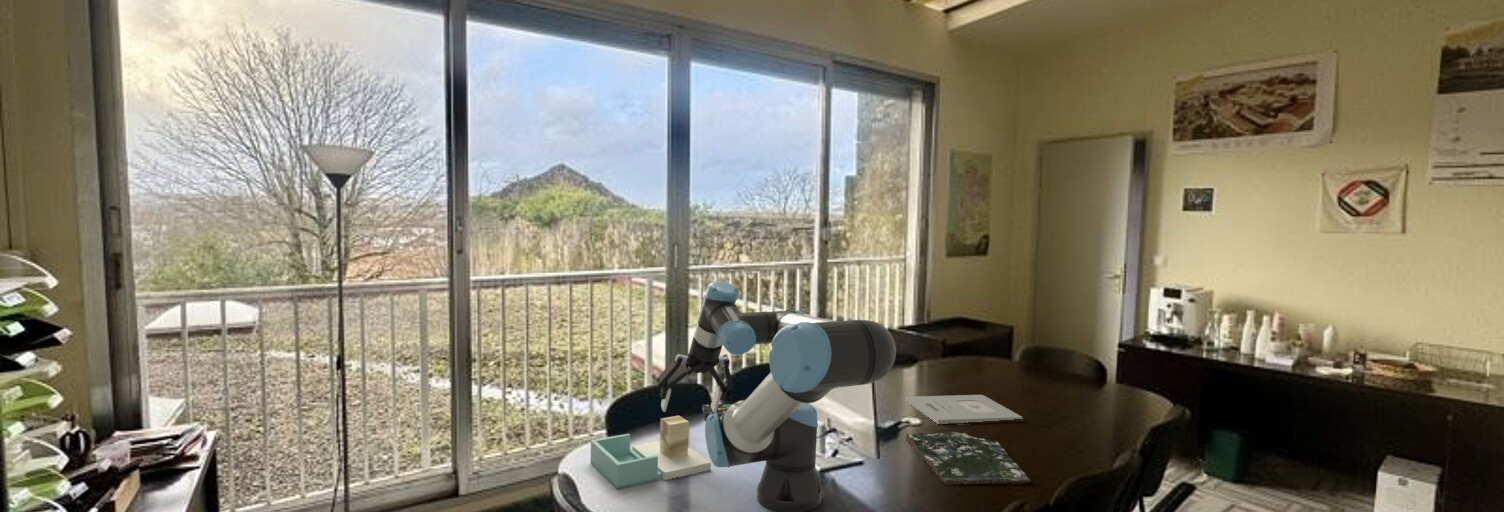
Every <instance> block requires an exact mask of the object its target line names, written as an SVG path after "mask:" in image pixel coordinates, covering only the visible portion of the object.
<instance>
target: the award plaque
mask: <svg viewBox="0 0 1504 512" xmlns="http://www.w3.org/2000/svg"><path fill="white" fill-rule="evenodd" d="M904 397H905V399H904V400H905V401H907V402H908V403H909V404H911V405H912V406H913V407H915V408H916V409H917V410H919V411H920V412H922V413H923V414H924V415H926V416H927V417H929V418H930V419H932V420H933V421H934V422H936V423H937V424H948V423H965V422H966V423H968V422H983V421H999V420H1014V419H1022V420H1023V417H1024V416H1021V415H1020V414H1018V413H1016V412H1014V411H1013V410H1010V409H1009V408H1007V407H1005V406H1004V405H1002V404H1000V403H998V402H996V401H995V400H993V399H991V398H989V397H987V396H986V395H983V394H964V395H963V394H958V395H957V394H956V395H929V396H928V395H922V396H921V395H920V396H919V395H918V396H904ZM905 401H904V402H905ZM907 402H906V403H907ZM908 403H907V404H908ZM909 404H908V405H909ZM911 405H910V406H911ZM912 406H911V407H912ZM913 407H912V408H913ZM915 408H914V409H915ZM916 409H915V410H916ZM919 411H918V412H919ZM920 412H919V413H920ZM922 413H921V414H922ZM923 414H922V415H923ZM924 415H923V416H924ZM926 416H925V417H926ZM927 417H926V418H927ZM930 419H929V420H930ZM933 421H932V422H933ZM934 422H933V423H934ZM937 424H936V425H937Z"/></svg>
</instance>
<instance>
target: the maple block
mask: <svg viewBox="0 0 1504 512" xmlns="http://www.w3.org/2000/svg"><path fill="white" fill-rule="evenodd" d="M659 425H660V426H659V427H660V430H659V431H660V435H659V436H660V437H659V441H660V452H661V453H662V454H664V455H665V456H666V457H667V458H669V459H671V458H675V457H680V456H685V455H688V447H689V436H690V435H689V431H690V428H689V427H690V421H688V420H687V419H685V418H684V417H682V416H680V415H674V416H668V417H662V418H660V424H659Z"/></svg>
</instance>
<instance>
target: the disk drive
mask: <svg viewBox="0 0 1504 512" xmlns="http://www.w3.org/2000/svg"><path fill="white" fill-rule="evenodd" d="M733 404H734V403H719V404H718V407H717V410H716V412H713V410H712V408H711V403H707V404H702V415H703V419H704V421H705V422H706V419H707V417H708V416H709V415H710V414H714V413H723V412H726V411H727V410H728V409H729V407H730V406H731V405H733Z"/></svg>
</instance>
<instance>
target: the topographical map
mask: <svg viewBox="0 0 1504 512" xmlns="http://www.w3.org/2000/svg"><path fill="white" fill-rule="evenodd" d="M905 435H906V436H905V438H906V439H905V441H906V440H907V441H908V442H909V443H910V444H911V446H912V447H913V448H914V449H915V450H916V451H917V452H918V453H919V455H920V456H921V457H922V458H923V459H924V460H925V461H926V463H927V464H928V465H929V466H930V467H931V468H932V469H931V468H930V467H929V466H928V465H927V464H926V463H925V464H926V465H927V466H928V467H929V468H930V469H931V471H932V472H933V471H934V472H935V473H936V474H937V475H938V476H939V477H940V478H939V477H938V476H937V475H936V474H935V473H934V472H933V473H934V474H935V475H936V476H937V477H938V478H939V479H940V480H941V482H942V481H943V482H944V483H945V484H946V485H945V484H944V483H943V482H942V483H943V484H944V485H945V486H954V485H953V484H978V483H982V484H983V483H1007V482H1013V483H1015V482H1031V483H1032V480H1031V478H1030V477H1029V476H1028V475H1027V474H1026V473H1025V472H1024V471H1023V470H1022V469H1021V467H1020V466H1019V465H1018V463H1016V462H1015V461H1014V459H1013V458H1011V457H1010V456H1009V454H1008V453H1007V451H1006V450H1005V449H1004V447H1003V446H1002V445H1001V444H1000V443H999V442H998V441H997V440H988V439H985V438H980V437H975V436H972V435H968V432H967V431H964V432H963V433H960V432H957V431H947V432H942V431H941V432H939V433H938V432H936V433H928V434H925V433H921V432H920V433H919V432H918V433H916V434H915V433H914V434H912V433H906V434H905ZM907 441H906V442H907ZM911 446H910V447H911ZM912 447H911V448H912ZM913 448H912V449H913ZM914 449H913V450H914ZM915 450H914V451H915ZM916 451H915V452H916ZM919 455H918V456H919ZM920 456H919V457H920ZM921 457H920V458H921ZM922 458H921V459H922ZM923 459H922V460H923ZM924 460H923V461H924Z"/></svg>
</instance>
